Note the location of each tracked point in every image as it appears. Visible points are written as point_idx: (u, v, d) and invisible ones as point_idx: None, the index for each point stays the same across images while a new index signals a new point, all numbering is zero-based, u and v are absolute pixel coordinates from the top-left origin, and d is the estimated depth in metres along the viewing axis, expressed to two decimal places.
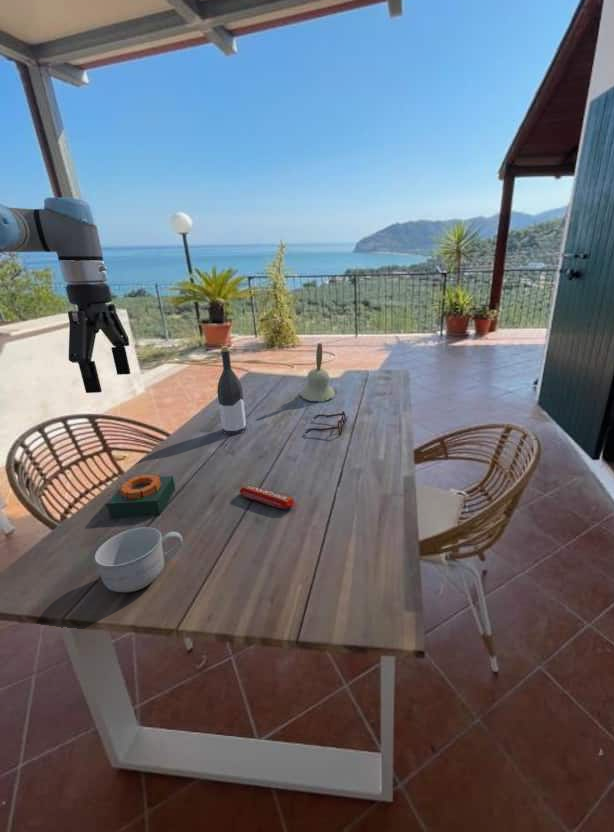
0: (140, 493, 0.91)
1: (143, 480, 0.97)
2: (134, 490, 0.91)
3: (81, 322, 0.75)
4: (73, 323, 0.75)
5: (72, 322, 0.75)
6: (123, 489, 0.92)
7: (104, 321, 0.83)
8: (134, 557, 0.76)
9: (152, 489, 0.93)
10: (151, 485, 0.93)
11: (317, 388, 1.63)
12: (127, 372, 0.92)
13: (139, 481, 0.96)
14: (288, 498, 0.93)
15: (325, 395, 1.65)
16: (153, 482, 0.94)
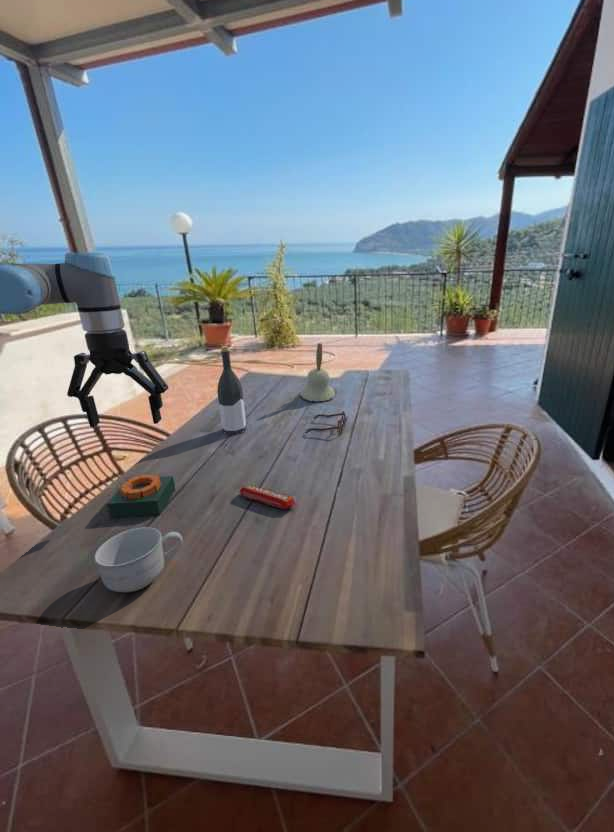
0: (140, 493, 0.91)
1: (143, 480, 0.97)
2: (134, 490, 0.91)
3: (148, 360, 0.86)
4: (145, 362, 0.84)
5: (145, 361, 0.84)
6: (123, 489, 0.92)
7: None
8: (134, 557, 0.76)
9: (152, 489, 0.93)
10: (151, 485, 0.93)
11: (317, 388, 1.63)
12: (98, 420, 0.89)
13: (139, 481, 0.96)
14: (289, 498, 0.93)
15: (325, 395, 1.65)
16: (153, 482, 0.94)
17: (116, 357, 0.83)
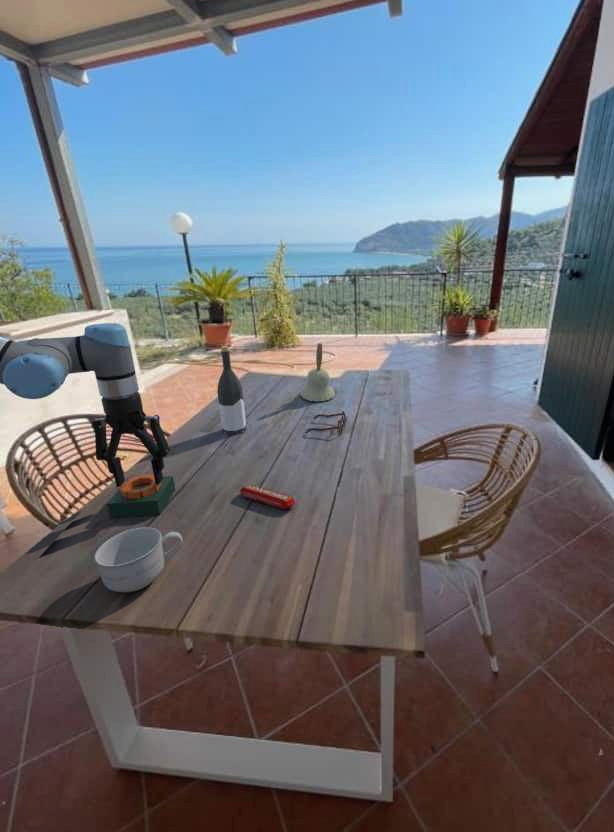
0: (140, 493, 0.91)
1: (143, 480, 0.97)
2: (134, 490, 0.91)
3: (159, 424, 0.91)
4: (156, 427, 0.89)
5: (156, 426, 0.89)
6: (123, 489, 0.92)
7: None
8: (134, 557, 0.76)
9: (152, 489, 0.93)
10: (151, 485, 0.93)
11: (317, 388, 1.63)
12: (124, 479, 0.94)
13: (139, 481, 0.96)
14: (289, 498, 0.93)
15: (325, 395, 1.65)
16: (153, 482, 0.94)
17: (131, 417, 0.87)
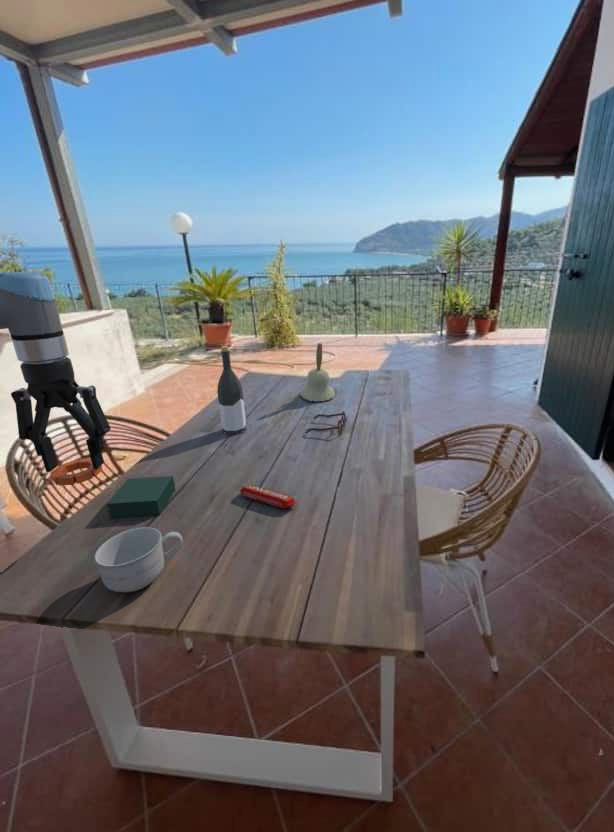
0: (73, 479, 0.77)
1: (81, 465, 0.82)
2: (66, 475, 0.77)
3: (95, 396, 0.76)
4: (91, 400, 0.75)
5: (91, 399, 0.75)
6: (53, 474, 0.77)
7: None
8: (134, 557, 0.76)
9: (89, 474, 0.78)
10: (88, 470, 0.79)
11: (317, 388, 1.63)
12: (56, 463, 0.80)
13: (76, 466, 0.82)
14: (289, 497, 0.94)
15: (325, 395, 1.65)
16: (91, 466, 0.80)
17: (58, 387, 0.73)
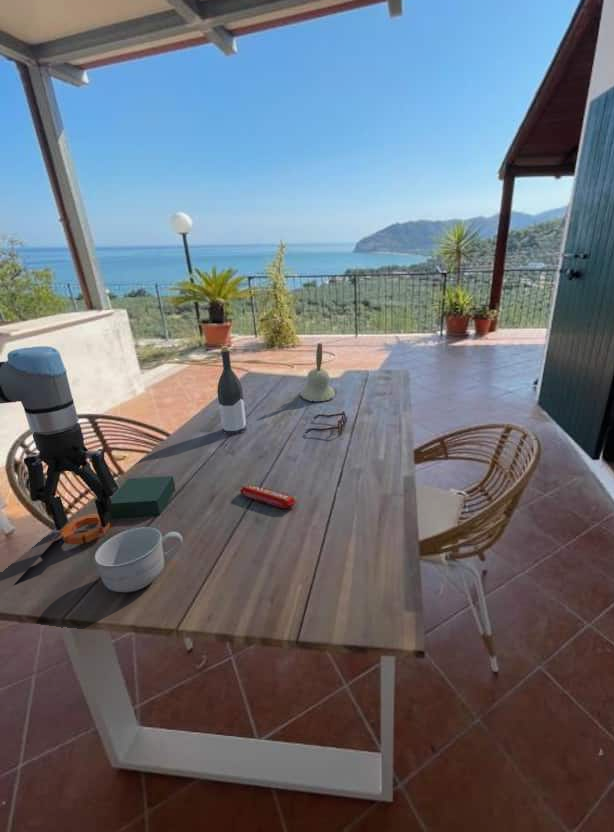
0: (82, 538, 0.80)
1: (90, 521, 0.86)
2: (76, 534, 0.80)
3: (103, 459, 0.80)
4: (100, 463, 0.78)
5: (99, 463, 0.78)
6: (63, 533, 0.80)
7: None
8: (134, 557, 0.76)
9: (97, 532, 0.81)
10: (96, 528, 0.82)
11: (317, 388, 1.63)
12: (66, 521, 0.83)
13: (85, 521, 0.85)
14: (289, 497, 0.94)
15: (325, 395, 1.65)
16: (100, 524, 0.83)
17: (69, 453, 0.76)
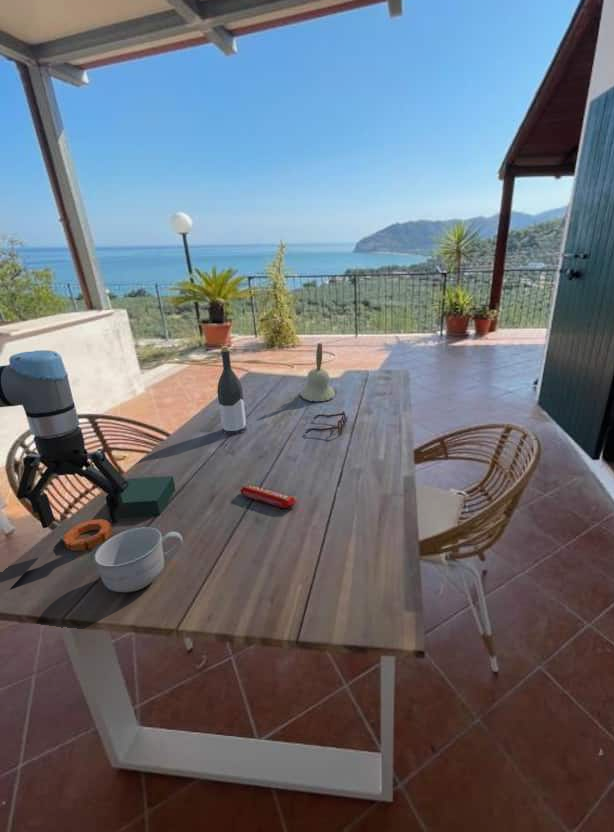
0: (85, 544, 0.81)
1: (92, 527, 0.86)
2: (78, 541, 0.81)
3: (105, 458, 0.80)
4: (102, 462, 0.78)
5: (101, 461, 0.78)
6: (66, 539, 0.81)
7: None
8: (134, 557, 0.76)
9: (99, 539, 0.82)
10: (99, 534, 0.83)
11: (317, 388, 1.63)
12: (53, 518, 0.83)
13: (87, 528, 0.86)
14: (290, 497, 0.94)
15: (325, 395, 1.65)
16: (102, 530, 0.84)
17: (69, 458, 0.77)
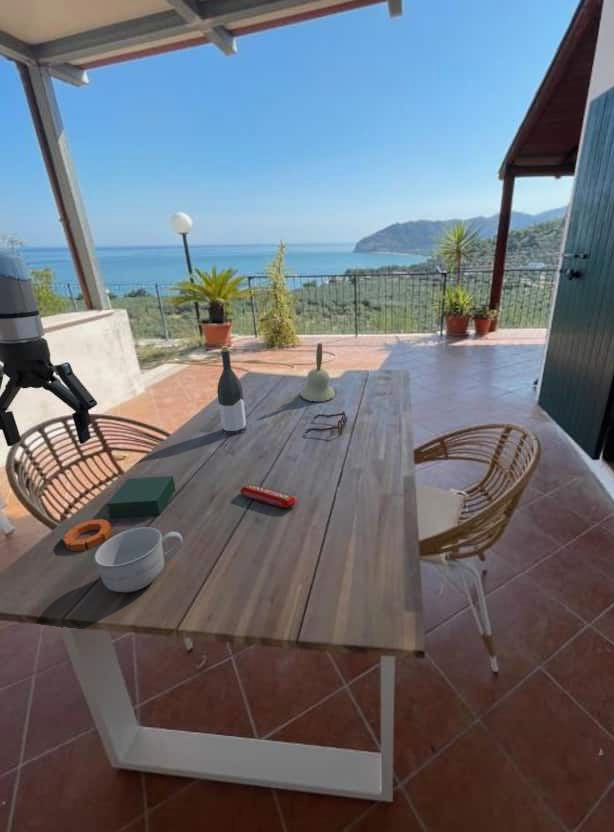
0: (85, 544, 0.81)
1: (92, 527, 0.86)
2: (78, 541, 0.81)
3: (72, 372, 0.76)
4: (68, 375, 0.75)
5: (67, 375, 0.75)
6: (66, 539, 0.81)
7: None
8: (134, 557, 0.76)
9: (99, 539, 0.82)
10: (99, 534, 0.83)
11: (317, 388, 1.63)
12: (19, 438, 0.80)
13: (87, 528, 0.86)
14: (290, 497, 0.94)
15: (325, 395, 1.65)
16: (102, 530, 0.84)
17: (33, 369, 0.74)
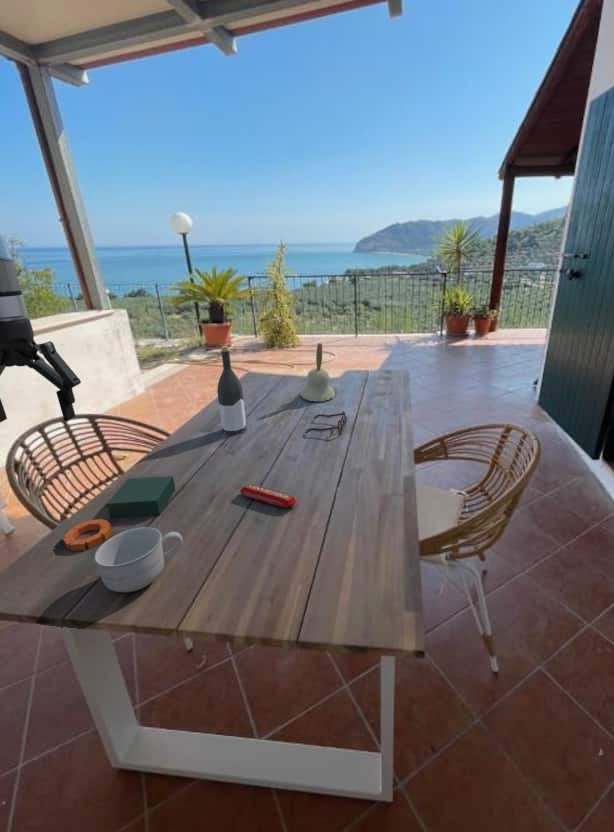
0: (85, 544, 0.81)
1: (92, 527, 0.86)
2: (78, 541, 0.81)
3: (56, 351, 0.79)
4: (51, 354, 0.78)
5: (50, 353, 0.77)
6: (66, 539, 0.81)
7: None
8: (134, 557, 0.76)
9: (99, 539, 0.82)
10: (99, 534, 0.83)
11: (317, 388, 1.63)
12: (5, 417, 0.82)
13: (87, 528, 0.86)
14: (290, 497, 0.94)
15: (325, 395, 1.65)
16: (102, 530, 0.84)
17: (17, 348, 0.76)
